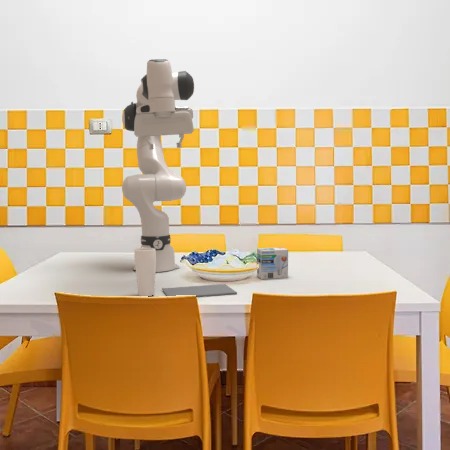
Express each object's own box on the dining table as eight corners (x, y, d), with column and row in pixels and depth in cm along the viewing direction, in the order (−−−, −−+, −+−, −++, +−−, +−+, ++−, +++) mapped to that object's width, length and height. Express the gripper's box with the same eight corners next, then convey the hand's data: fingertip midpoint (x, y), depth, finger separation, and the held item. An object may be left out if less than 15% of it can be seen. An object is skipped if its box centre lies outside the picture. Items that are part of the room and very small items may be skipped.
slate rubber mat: (162, 290, 175) (161, 288, 175) (225, 285, 181) (225, 283, 181) (169, 299, 161) (169, 297, 161) (236, 294, 167) (236, 292, 167)
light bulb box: (261, 279, 191) (260, 250, 190) (256, 276, 197) (256, 248, 196) (289, 278, 193) (288, 249, 192) (283, 274, 199) (283, 246, 198)
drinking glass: (141, 298, 163) (140, 251, 161) (132, 295, 168) (130, 248, 167) (160, 295, 167) (159, 249, 165) (150, 292, 172) (149, 247, 171)
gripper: (191, 107, 182) (194, 147, 184) (132, 110, 178) (135, 150, 180) (193, 105, 176) (196, 146, 178) (132, 108, 172) (135, 150, 174)
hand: (165, 148), depth 179 cm, fingers open, 8 cm apart
